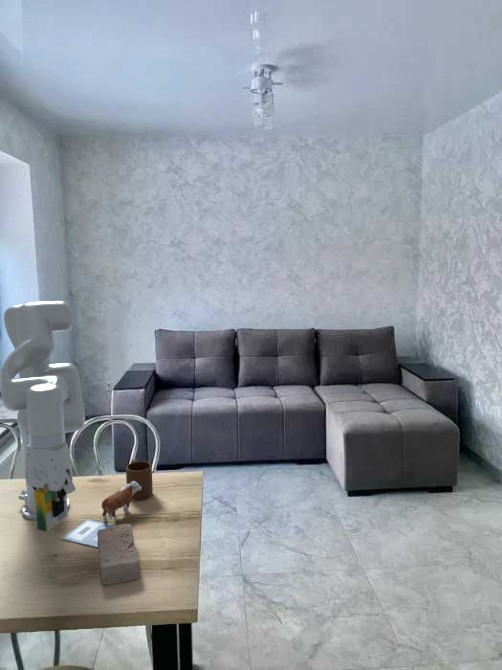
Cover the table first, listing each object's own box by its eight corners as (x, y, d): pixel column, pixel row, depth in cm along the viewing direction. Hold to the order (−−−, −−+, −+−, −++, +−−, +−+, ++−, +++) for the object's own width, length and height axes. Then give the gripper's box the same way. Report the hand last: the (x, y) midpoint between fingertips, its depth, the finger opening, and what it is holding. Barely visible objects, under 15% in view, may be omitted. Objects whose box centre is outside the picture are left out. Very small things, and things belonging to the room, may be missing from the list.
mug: (121, 486, 159) (120, 458, 158) (145, 481, 162) (144, 454, 161) (130, 503, 149) (128, 473, 147) (155, 498, 152) (154, 468, 150)
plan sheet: (62, 539, 130) (62, 538, 130) (87, 520, 139) (87, 519, 139) (108, 550, 125) (108, 549, 125) (131, 529, 135) (131, 528, 134)
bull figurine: (144, 506, 147) (143, 480, 145) (108, 527, 136) (106, 499, 134) (134, 502, 149) (133, 476, 148) (97, 522, 138) (95, 494, 137)
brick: (140, 578, 114) (139, 560, 114) (101, 586, 112) (100, 567, 111) (131, 539, 130) (131, 522, 129) (97, 545, 127) (96, 528, 126)
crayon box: (58, 513, 123) (55, 469, 120) (68, 516, 122) (66, 471, 119) (36, 529, 116) (33, 482, 114) (47, 532, 115) (44, 485, 113)
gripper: (6, 439, 114) (12, 513, 118) (65, 450, 109) (70, 528, 112) (31, 427, 121) (36, 498, 125) (88, 437, 115) (91, 511, 119)
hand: (52, 511), depth 118 cm, fingers closed on crayon box, 3 cm apart
